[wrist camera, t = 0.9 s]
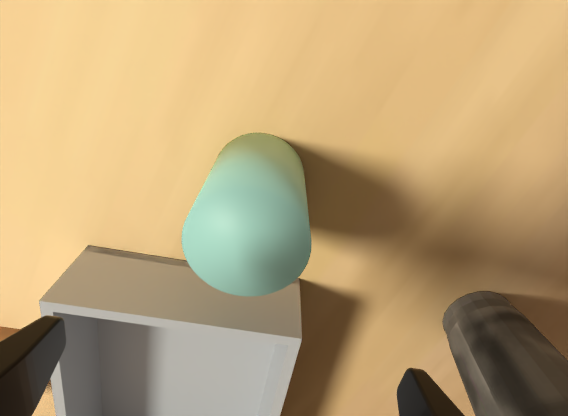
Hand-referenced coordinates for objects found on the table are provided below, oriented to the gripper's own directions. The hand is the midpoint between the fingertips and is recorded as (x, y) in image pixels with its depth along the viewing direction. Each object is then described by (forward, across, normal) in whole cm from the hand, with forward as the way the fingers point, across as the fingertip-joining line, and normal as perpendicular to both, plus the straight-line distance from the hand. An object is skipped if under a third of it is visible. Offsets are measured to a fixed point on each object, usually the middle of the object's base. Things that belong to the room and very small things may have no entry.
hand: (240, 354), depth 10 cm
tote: (+12, +3, +15) cm, 20 cm away
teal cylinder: (+12, 0, 0) cm, 12 cm away
